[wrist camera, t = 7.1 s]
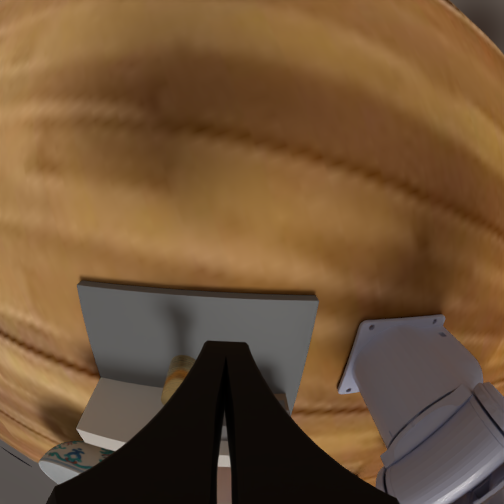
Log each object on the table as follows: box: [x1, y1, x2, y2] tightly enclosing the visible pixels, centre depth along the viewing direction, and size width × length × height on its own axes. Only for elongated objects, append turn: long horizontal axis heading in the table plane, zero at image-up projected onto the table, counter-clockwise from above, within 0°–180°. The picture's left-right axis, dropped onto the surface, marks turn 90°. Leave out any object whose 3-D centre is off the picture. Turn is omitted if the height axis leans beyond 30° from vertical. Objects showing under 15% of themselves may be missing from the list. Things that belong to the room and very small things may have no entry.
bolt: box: [161, 355, 290, 416], centre depth 15 cm, size 8×6×3 cm
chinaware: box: [39, 440, 115, 484], centre depth 21 cm, size 15×15×8 cm
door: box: [76, 281, 319, 467], centre depth 17 cm, size 17×13×7 cm
